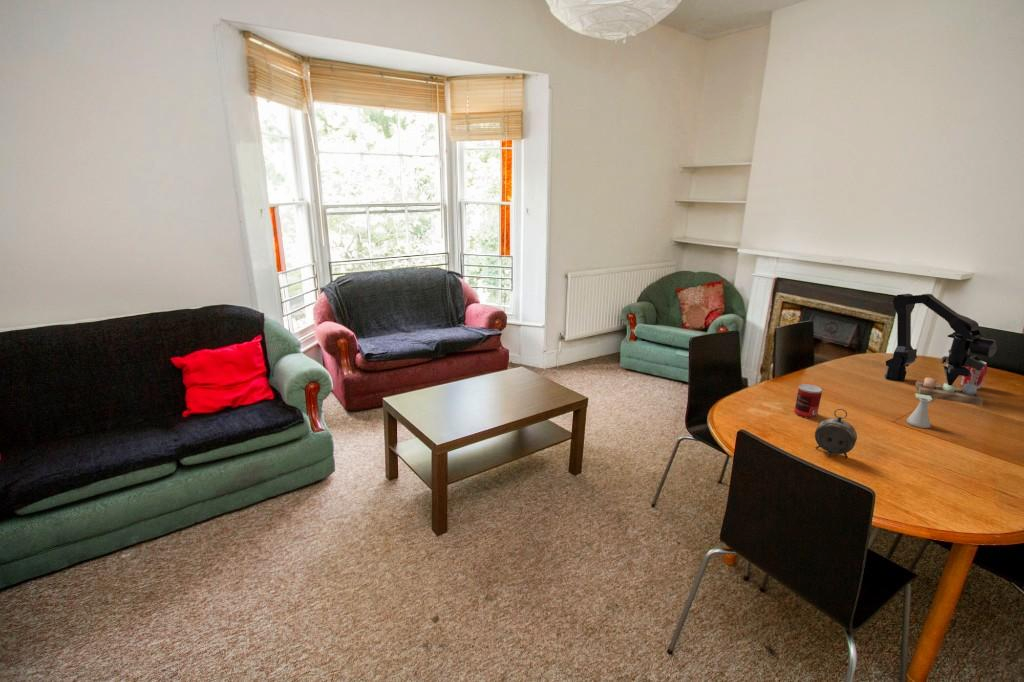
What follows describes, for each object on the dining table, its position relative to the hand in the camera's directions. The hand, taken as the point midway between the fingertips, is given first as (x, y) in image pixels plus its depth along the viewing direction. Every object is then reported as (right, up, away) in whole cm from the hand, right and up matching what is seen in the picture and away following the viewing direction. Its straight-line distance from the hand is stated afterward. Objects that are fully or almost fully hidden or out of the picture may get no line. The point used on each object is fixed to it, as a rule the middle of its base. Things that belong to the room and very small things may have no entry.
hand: (949, 385), depth 206 cm
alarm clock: (-82, -18, -48) cm, 96 cm away
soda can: (+19, -2, +11) cm, 22 cm away
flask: (-35, -12, -26) cm, 45 cm away
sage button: (0, -4, +1) cm, 4 cm away
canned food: (-72, -10, -18) cm, 75 cm away
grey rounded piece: (+6, -4, -2) cm, 7 cm away
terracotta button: (-6, -2, +4) cm, 7 cm away
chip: (-12, -5, -2) cm, 14 cm away
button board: (0, -4, +1) cm, 5 cm away
